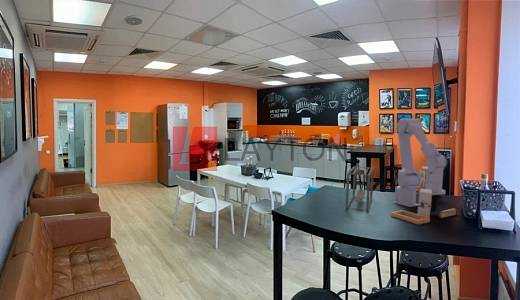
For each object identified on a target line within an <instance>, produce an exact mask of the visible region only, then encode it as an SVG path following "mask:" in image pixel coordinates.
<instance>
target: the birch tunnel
mask: <svg viewBox="0 0 520 300" xmlns="http://www.w3.org/2000/svg"><path fill="white" fill-rule="evenodd" d="M456 213H457V209H456V208H450V209H446V210H441V211H439V215H438V217H439V218H447V217H450V216H455V215H457V214H456Z"/></svg>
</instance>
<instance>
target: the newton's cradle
mask: <svg viewBox="0 0 520 300" xmlns="http://www.w3.org/2000/svg"><path fill="white" fill-rule="evenodd" d="M360 169H366V170H365V171H364V173H360ZM369 169H370V170H369ZM374 169H375V167H374V166H373V167H372V166H371V167H369V166H367V167H365V166H364V167H363V166H356V165H354V166H353V167H352V168H350V170H349V171H347V174H346V184H345V185H346V187H345V188H346V191H345V209H346V210H347V209H353V210H354V209H355V210H361V211H366V212H369V210H370V206H371V203H372V200H373V194H374V193H373V191H374V190H373V189H374V188H373V187H374ZM368 171H369V172H368ZM367 173H368V174H367ZM350 175H353V177H352V178H353V179H352V195H351V197H350V199H349V188H350V187H349V186H350ZM359 176H363V180H362V184H361V183H356V181H361V180H360V177H359ZM366 177H367V179H366ZM366 180H367V181H366ZM365 182H367V183H366V191H365V190H364V189H363V188H364V184H365ZM356 187H359V189H357V190H356ZM356 191H357V193H356ZM365 195H366V197H365ZM364 199H366V200H365V201H366V202H365V208H357V207H350V206H351V204H352V202H353V200H354V201H355V203H357V204H360V203H362V202H363V200H364Z"/></svg>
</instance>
